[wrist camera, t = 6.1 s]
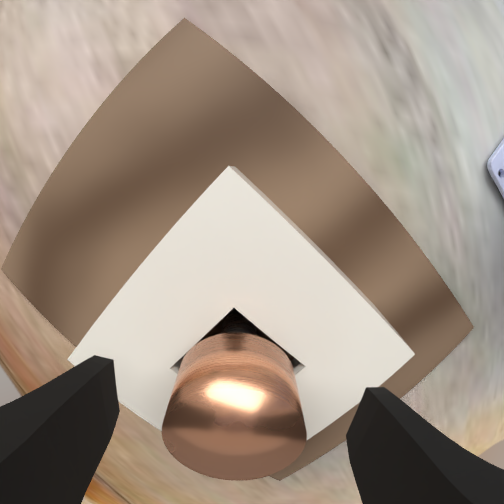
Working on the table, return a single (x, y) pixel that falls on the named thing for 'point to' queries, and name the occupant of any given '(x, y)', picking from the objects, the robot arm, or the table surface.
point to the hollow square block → (243, 307)
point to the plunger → (235, 406)
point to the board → (194, 185)
